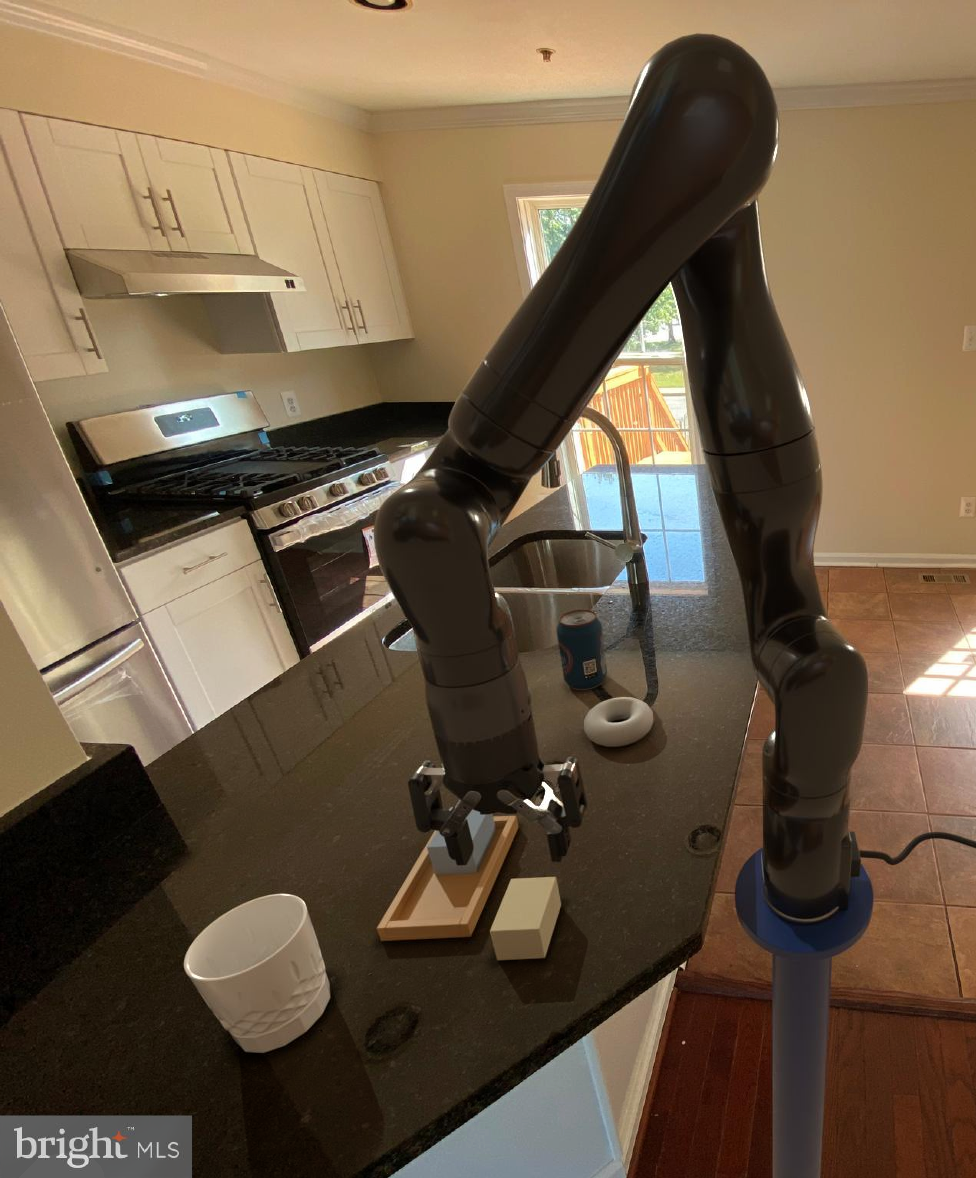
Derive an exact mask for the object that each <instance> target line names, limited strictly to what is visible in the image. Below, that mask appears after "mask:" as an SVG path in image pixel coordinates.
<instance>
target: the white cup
mask: <svg viewBox="0 0 976 1178" xmlns="http://www.w3.org/2000/svg"><path fill="white" fill-rule="evenodd" d="M321 951H322V950H321V948H320V943H319V940H318V938H317V934H316V932H315V929H314V926H313V922H312V920H311V917H310V913H309V911H308V907H307V905H306V902H305V900H303V899H302V898H300V897H299V896H297V895H294V894H289V893H275V894H274V893H273V894H269V895H264V896H261V897H257V898H254V899H252V900H249V901H246V902H243V903H242V904H240V905H238V906H236V907H234V908H232V909H231V910H228V911H227V912H226V913H223V914H222V915H220V916H219V917H217V918H216V919H215V920H214V921H212V922H211V923H210V924H209V925H208V926H206V927H205V928H204V929H202V931H201V932H200V933H199V934H198V935H197V936H196V938H195V939H194V940H193V941H192V943H191V944H190V946H189V947H188V949H187V951H186V953H185V955H184V960H183V968H184V972H185V974H186V975H187V977H188V978H189V979H190V981H191V982H192V983H193V986H194V987H195V988H196V990H197V992H198V993H199V994H200V996H201V998H202V999H203V1001H204V1002H205V1004H206V1005H207V1006H208V1008H209V1010H211V1011H212V1013H213V1015H214V1016H215V1017H216V1019H217V1020H218V1021H219V1022H220V1024H221V1026H222V1027H223V1028H224V1030H225V1031H227V1032H229V1034H230V1035H231V1037H232V1038H233V1039H234V1041H235V1043H236V1045H238V1046H239V1047H240V1048H241V1049H242V1050H243V1051H244V1052H245V1053H258V1054H265V1053H267V1052H270V1051H273V1050H276V1049H279V1048H282V1047H285V1046H287V1045H288V1044H290V1043H291V1042H293V1041H295V1040H296V1039H297V1038H299V1037H301V1036H302V1035H304V1034H305V1033H306V1032H308V1031H309V1029H310V1028H312V1026H313V1025H314V1024H315V1023H316V1022H317V1021H318V1020H319V1019H320V1018H321V1017H322V1016H323V1014H324V1012H325V1010H326V1009H327V1008H326V1007H327V1006H328V1003H329V1002H330V1000H331V984H330V981H329V978H328V974H327V972H326V965H325V961H324V957H323V955H322V952H321Z"/></svg>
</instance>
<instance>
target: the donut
mask: <svg viewBox="0 0 976 1178" xmlns="http://www.w3.org/2000/svg"><path fill="white" fill-rule="evenodd" d="M620 720H623V721H620ZM615 721H619V722H615ZM653 724H654V713H653V709H651V707H650V706H649V705H648V704H647V703H646V702H645V701H643V700H641V699H638V698H635V697H632V696H631V697H630V696H629V697H628V696H619V697H618V696H617V697H612V698H609V699H606V700H603V701H601V702H599V703H597V704H595V706H593V707H592V708H591V709H589V711H588V712H587V713H586V715H585V718H584V720H583V731H584V733H585V736H586V737H587V738H588V739H589V740H590V741H591V742H593V743H594V744H596V745H598V746H602V747H606V748H607V747H608V748H618V747H625V746H629V745H630V744H633V743H637V742H638V741H640V740H641V739H643V738H644V737H645V736H646V735H647V734H648V733H649V732H650V730H651V729H652V727H653Z"/></svg>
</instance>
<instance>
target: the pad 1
mask: <svg viewBox="0 0 976 1178" xmlns="http://www.w3.org/2000/svg"><path fill="white" fill-rule="evenodd" d="M453 807H454V806H450V808H449V809H448V810H450V811H451V810H452V808H453ZM493 817H494V813H493V814H487V815H480V812H478V811H475V810H473V809H472V811H471V812H470V814H469V815H468V816H467V818H466V819H467V821H468V825H469V829H470V833H471V837H472V841H473V845H474V849H473V853H472V855H471V857H470V859H469V861H468V863H467V865H461V866H457V864H456V861H455V860H452V859H451V858H450V857H449V854H448V850H447V846H446V843H445V839H444V837H443V836H441V835H440V833H439V831H436V833H435V835H434V836H433V838H432V840H431V841H430V843H429V845H428V847H427V849H428V853H429V856H430V859H431V863H432V866H433V870H434V873H435V875H443V874H465V873H477V872H478V870H479V868H480V866H481V864H482V862H483V860H484V858H485V855H486V853H487V851H488V849H489V847H490V845H491V843H492V841H493V838H494V836H495V834H496V832H497V831H496V827H495V823H494V818H493Z"/></svg>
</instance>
